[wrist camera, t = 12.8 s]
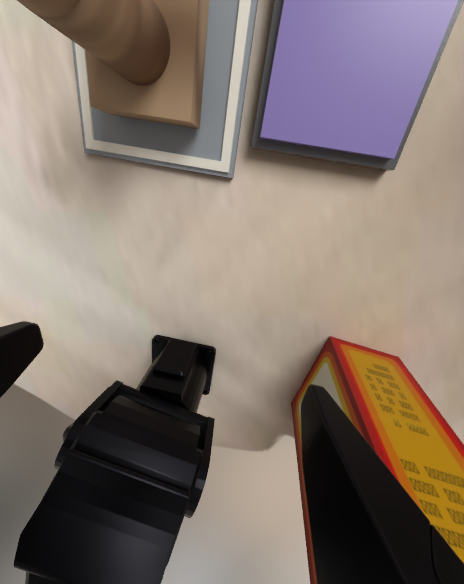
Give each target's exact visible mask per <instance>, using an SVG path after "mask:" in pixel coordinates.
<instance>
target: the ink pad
mask: <svg viewBox="0 0 464 584" xmlns="http://www.w3.org/2000/svg"><path fill="white" fill-rule="evenodd" d="M463 2H464V0H275V3H274V9H273V15H272V21H271V27H270V33H269V39H268V46H267V52H266V58H265V64H264V70H263V76H262V83H261V89H260V95H259V101H258V107H257V113H256V120H255V126H254V132H253V138H252V144H251V147H252V148H253V149H260V150H266V151H272V152H278V153H284V154H290V155H296V156H302V157H308V158H314V159H320V160H326V161H332V162H338V163H344V164H350V165H357V166H363V167H369V168H375V169H381V170H394V169H395V167H396V164H397V162H398V160H399V157H400V155H401V152H402V150H403V147H404V145H405V143H406V140H407V138H408V135H409V133H410V130H411V128H412V126H413V123H414V121H415V118H416V116H417V113H418V111H419V109H420V106H421V104H422V101H423V99H424V96H425V94H426V91H427V89H428V87H429V84H430V82H431V79H432V77H433V74H434V72H435V70H436V67H437V65H438V62H439V60H440V57H441V55H442V53H443V50H444V48H445V45H446V43H447V40H448V38H449V36H450V33H451V31H452V28H453V26H454V23H455V21H456V19H457V16H458V14H459V11H460V9H461V6H462V4H463Z"/></svg>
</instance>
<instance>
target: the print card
mask: <svg viewBox="0 0 464 584" xmlns="http://www.w3.org/2000/svg"><path fill="white" fill-rule="evenodd" d="M257 4H258V0H209V13H208V26H207V39H206V53H205V66H204V80H203V93H202V107H201V120H200V129H196V128H190V127H184V126H178V125H171V124H165V123H159V122H152V121H146V120H140V119H134V118H127V117H121V116H115V115H110V114H108V113H105V112H103V111H101V110H98V109H96V108H93V107H91V106H90V96H89V86H88V75H87V65H86V54H85V49H83V48H82V47H81V46H79V45H78V44H76V43H75V42H74V41H72V45H73V54H74V63H75V72H76V81H77V90H78V99H79V108H80V117H81V126H82V135H83V144H84V153H90V154H96V155H101V156H107V157H113V158H119V159H124V160H130V161H136V162H142V163H148V164H153V165H159V166H165V167H171V168H177V169H182V170H188V171H194V172H200V173H205V174H211V175H217V176H223V177H229V178H233V175H234V168H235V161H236V154H237V147H238V139H239V132H240V125H241V118H242V111H243V104H244V97H245V90H246V82H247V75H248V68H249V61H250V54H251V47H252V40H253V32H254V25H255V18H256V11H257Z"/></svg>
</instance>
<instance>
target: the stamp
mask: <svg viewBox="0 0 464 584" xmlns="http://www.w3.org/2000/svg"><path fill="white" fill-rule="evenodd" d="M17 1H19V2H20V3H21V4H22V5H24V6H25V7H26V8H28V9H29V10H30V11H32V12H33V13H34V14H36V15H37V16H39V17H40V18H41V19H43V20H44V21H46V22H47V23H48V24H50V25H51V26H53V27H54V28H55V29H57V30H58V31H60V32H61V33H62V34H64V35H65V36H67V37H68V38H69V39H71V40H72V41H74V42H75V43H76V44H78V45H79V46H81V47H82V48H83V49H85V54H86V65H87V75H88V86H89V96H90V106H91V107H93V108H96V109H98V110H101V111H103V112H105V113H108V114H110V115H115V116H121V117H127V118H134V119H140V120H146V121H152V122H159V123H165V124H171V125H178V126H184V127H190V128H196V129H200V120H201V107H202V93H203V80H204V66H205V53H206V39H207V26H208V13H209V0H17Z"/></svg>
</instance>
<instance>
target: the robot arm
mask: <svg viewBox="0 0 464 584" xmlns="http://www.w3.org/2000/svg"><path fill="white" fill-rule="evenodd" d="M156 339H157V340H159V341H157V340H156ZM43 344H44V343H43V339H42V335H41V331H40V328H39V326H38V325H37V324H35V323H31V322H19V323H15V324H11V325H7V326H3V327H0V397H1V396H2V395H3V394H4V393H5V392H6V391H7V390H8V389H9V388H10V387H11V386H12V384H13V383H14V382H15V381H16V380H17V378H18V377H19V376H20V375H21V374H22V373H23V371H24V370H25V369H26V368H27V367H28V365H29V364H30V363H31V362H32V361H33V360H34V358H35V357H36V356H37V355H38V354H39V353H40V351H41V350H42V348H43ZM209 351H212V352H209ZM215 355H216V349H215V348H214V347H212V346H207V345H203V344H198V343H193V342H189V341H184V340H179V339H174V338H170V337H165V336H160V335H156V336H154V338H153V339H152V365H151V366H150V368H149V369H148V371H147V373H146V374H145V376H144V377H143V379H142V381H141V382H140V384H139V385H138V387H137V388H136V389H134V388H132V387H129V386H127V385H124V384H123V383H122V382H120V381H116V382H115V383H114V384H113V385H112V386H111V387H108V388H107V389H106V390H105V391H104V392H103V393H102V394H101V395H100V396H99V397H98V398H97V399H96V400H95V401H94V402H93V403H92V404H91V405H90V406H89V407H88V408H87V409H86V410H85V411H84V412H83V413H82V414H81V415H80V416H79V417H78V418H77V419H76V420H75V422H74V423H72V424H71V425H70V426H68V427H67V429H66V430H65V432H64V434H63V441H64V443H63V445H62V447H61V449H60V451H59V453H58V455H57V458H56V460H55V465H54V466H55V468H56V469H59V470H58V472H57V473H56V475H55V477H54V479H53V481H52V482H51V484H50V486H49V488H48V490H47V492H46V493H45V495H44V497H43V499H42V501H41V503H40V504H39V506H38V507H37V509H36V511H35V512H34V514H33V515H32V517H31V519H30V520H29V522H28V523H27V525H26V527H25V528H24V530H23V531H22V533H21V535H20V538H19V542H18V547H17V551H16V555H15V560H14V567H15V568H18V569H21V570H24V571H26V583H25V584H160V583H161V581H162V578H163V575H164V571H165V568H166V566H167V564H168V562H169V559H170V556H171V553H172V550H173V547H174V544H175V541H176V538H177V535H178V532H179V529H180V526H181V524H182V521H183V518H184V516H186V517H188V518H190V517H192V515H193V513H194V512H195V510H196V507H197V505H198V502H199V500H200V497H201V494H202V491H203V488H204V484H205V481H206V477H207V472H208V468H209V463H210V455H211V446H212V437H213V429H214V420H215V419H214V418H211V417H205V416H203V415H200V414H198V413H196V412H197V409H198V406H199V403H200V399H201V396H202V394H204V395H207V394H209V391H210V386H211V380H212V374H213V367H214V361H215ZM301 443H302V465H303V475H304V483H305V491H306V499H307V506H308V514H309V522H310V530H311V538H312V546H313V554H314V562H315V570H316V578H317V584H464V563H463V562H462V560H461V559H460V558H459V557H458V555H457V554H456V553H455V552H454V550H453V549H452V548H451V547H450V545H449V544H448V543H447V542H446V540H445V539H444V538H443V537H442V535H441V534H440V533H439V532H438V530H437V529H436V528H435V527H434V526H433V525H430V521H429V519H428V518H427V517H426V515H425V514H424V513H423V512H422V510H421V509H420V508H419V507H418V505H417V504H416V503H415V501H414V500H413V499H412V498H411V496H410V495H409V494H408V493H407V491H406V490H405V489H404V488H403V486H402V485H401V484H400V483H399V481H398V480H397V479H396V477H395V476H394V475H393V474H392V472H391V471H390V470H389V469H388V467H387V466H386V465H385V464H384V462H383V461H382V460H381V458H380V457H379V456H378V455H377V453H376V452H375V451H374V450H373V448H372V447H371V446H370V445H369V443H368V442H367V441H366V440H365V438H364V437H363V436H362V434H361V433H360V432H359V431H358V429H357V428H356V427H355V426H354V424H353V423H352V422H351V421H350V419H349V418H348V417H347V416H346V414H345V413H344V412H343V410H342V409H341V408H340V407H339V405H338V404H337V403H336V402H335V400H334V399H333V398H332V397H331V395H330V394H329V393H328V391H327V390H326V389H325V388H324V387H323V386H319V385H315V384H310V385H309V386H308V388H307V390H306V393H305V395H304V397H303V400H302V403H301Z"/></svg>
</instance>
